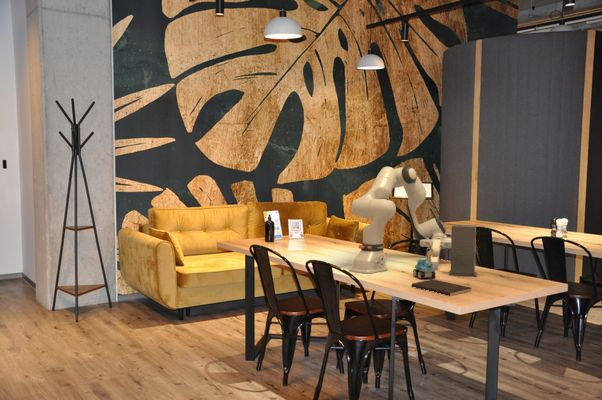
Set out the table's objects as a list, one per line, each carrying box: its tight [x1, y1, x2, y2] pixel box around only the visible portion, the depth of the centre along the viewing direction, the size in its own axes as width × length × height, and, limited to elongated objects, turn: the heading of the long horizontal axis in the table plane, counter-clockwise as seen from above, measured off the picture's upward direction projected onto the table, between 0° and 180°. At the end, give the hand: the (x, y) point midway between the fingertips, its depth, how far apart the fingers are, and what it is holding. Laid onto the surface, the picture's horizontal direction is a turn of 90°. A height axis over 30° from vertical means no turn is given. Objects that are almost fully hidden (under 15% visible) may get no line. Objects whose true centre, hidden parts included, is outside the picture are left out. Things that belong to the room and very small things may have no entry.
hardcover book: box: [411, 278, 472, 297], centre depth 287 cm, size 16×23×2 cm
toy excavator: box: [412, 247, 440, 280], centre depth 310 cm, size 9×17×17 cm, turn 16°
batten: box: [431, 239, 441, 269], centre depth 342 cm, size 20×4×4 cm
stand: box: [447, 224, 478, 278], centre depth 321 cm, size 10×14×26 cm
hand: (436, 245), depth 346 cm, fingers closed on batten, 4 cm apart
